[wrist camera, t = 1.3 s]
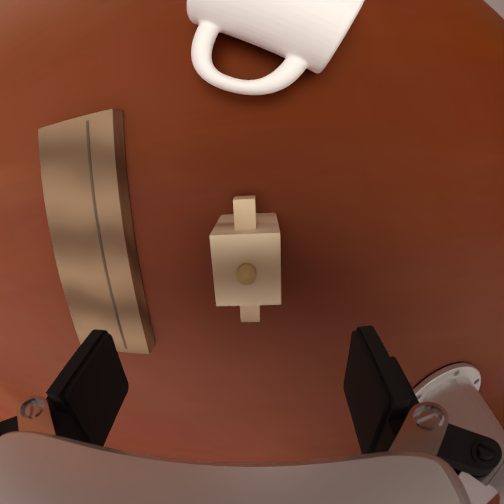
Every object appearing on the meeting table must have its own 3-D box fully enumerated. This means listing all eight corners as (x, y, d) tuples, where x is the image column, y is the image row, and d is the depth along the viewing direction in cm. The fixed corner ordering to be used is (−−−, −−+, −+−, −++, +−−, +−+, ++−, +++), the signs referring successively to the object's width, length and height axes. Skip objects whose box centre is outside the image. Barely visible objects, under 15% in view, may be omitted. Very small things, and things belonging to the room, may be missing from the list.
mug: (242, -31, 18) (235, -83, 10) (350, 13, 19) (381, -29, 11) (176, 78, 21) (140, 51, 14) (289, 126, 23) (303, 117, 15)
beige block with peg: (277, 291, 27) (281, 335, 21) (227, 292, 27) (217, 336, 21) (275, 188, 24) (280, 203, 18) (219, 190, 24) (204, 206, 18)
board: (155, 342, 29) (149, 354, 27) (89, 337, 30) (81, 347, 28) (122, 110, 22) (112, 108, 20) (50, 128, 23) (37, 129, 21)
